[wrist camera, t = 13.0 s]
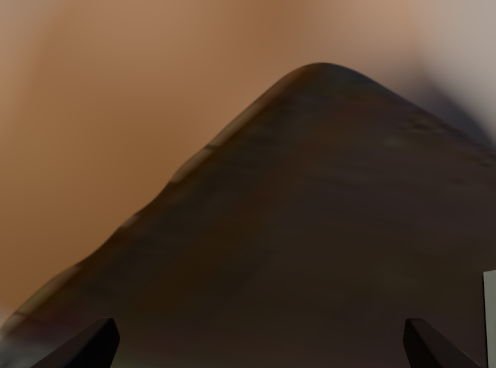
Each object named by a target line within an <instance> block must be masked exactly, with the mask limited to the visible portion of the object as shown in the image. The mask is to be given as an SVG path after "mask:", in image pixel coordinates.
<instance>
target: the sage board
mask: <svg viewBox="0 0 496 368" xmlns="http://www.w3.org/2000/svg"><path fill="white" fill-rule="evenodd" d="M484 290H485V309H486V327H487V346H488V364H489V368H496V270H493V271H487V272H484Z"/></svg>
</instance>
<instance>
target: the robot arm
mask: <svg viewBox="0 0 496 368" xmlns="http://www.w3.org/2000/svg"><path fill="white" fill-rule="evenodd" d="M119 341H120V335H119V332H118V330H117V327H116V324H115V321H114V319H112V318H99V319H97V320H96V321H94V322H93V323H92V324H90V325H89V326H87V327H86V328H85V329H83V330H82V331H80V332H79V333H78V334H76V335H75V336H73V337H72V338H71V339H69V340H68V341H67V342H65V343H64V344H62V345H61V346H60V347H58V348H57V349H55V350H54V351H53V352H51V353H50V354H48V355H47V356H46V357H44V358H43V359H42V360H40V361H39V362H37V363H36V364H35V365H33V366H32V367H30V368H110V366H111V364H112V361H113V358H114V356H115V353H116V350H117V348H118V345H119ZM403 344H404V348H405V351H406V354H407V357H408V360H409V363H410V366H411V368H482V367H481V366H480V365H479V364H478V363H476V362H475V361H474V360H473V359H471V358H470V357H469V356H468V355H467V354H465V353H464V352H463V351H462V350H460V349H459V348H458V347H457V346H455V345H454V344H453V343H452V342H451V341H449V340H448V339H447V338H446V337H444V336H443V335H442V334H441V333H440V332H438V331H437V330H436V329H435V328H433V327H432V326H431V325H430V324H428V323H427V322H426V321H425V320H423V319H420V318H409V319H407V320H406V322H405V329H404V337H403Z"/></svg>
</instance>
